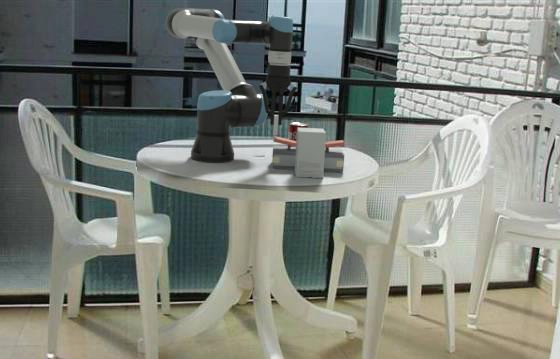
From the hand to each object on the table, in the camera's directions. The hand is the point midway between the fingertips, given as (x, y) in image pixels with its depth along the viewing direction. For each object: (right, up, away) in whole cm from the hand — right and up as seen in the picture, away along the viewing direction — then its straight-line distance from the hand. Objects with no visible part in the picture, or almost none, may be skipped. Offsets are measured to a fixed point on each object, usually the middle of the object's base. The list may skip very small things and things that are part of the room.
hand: (275, 134), depth 233 cm
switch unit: (+11, -11, +3) cm, 16 cm away
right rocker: (+18, -3, +1) cm, 18 cm away
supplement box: (+11, -14, -8) cm, 20 cm away
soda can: (+8, -7, +21) cm, 24 cm away
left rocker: (+5, -3, +1) cm, 6 cm away
